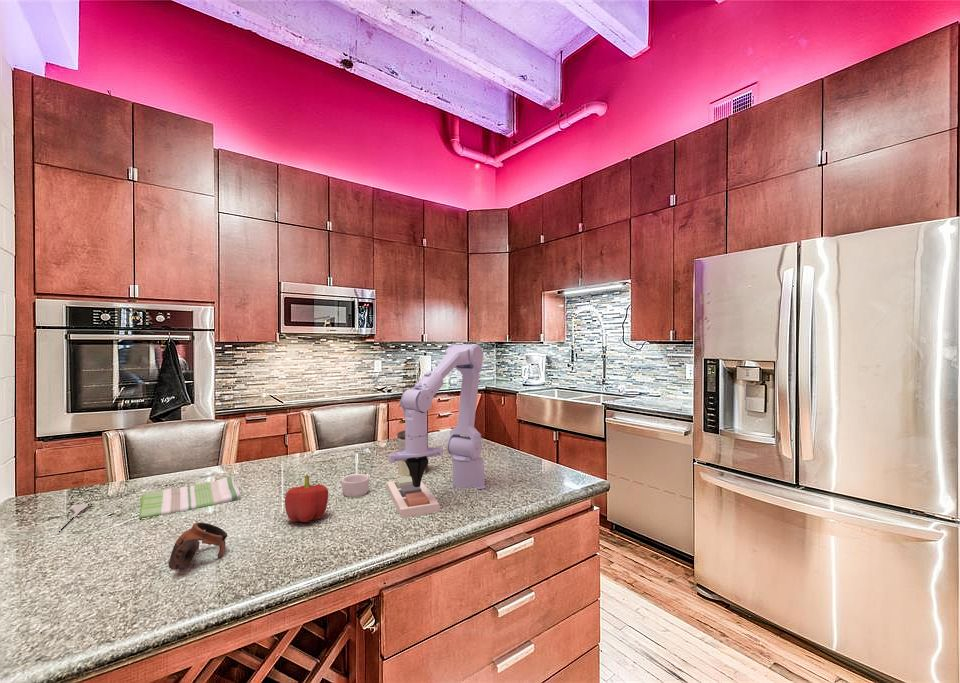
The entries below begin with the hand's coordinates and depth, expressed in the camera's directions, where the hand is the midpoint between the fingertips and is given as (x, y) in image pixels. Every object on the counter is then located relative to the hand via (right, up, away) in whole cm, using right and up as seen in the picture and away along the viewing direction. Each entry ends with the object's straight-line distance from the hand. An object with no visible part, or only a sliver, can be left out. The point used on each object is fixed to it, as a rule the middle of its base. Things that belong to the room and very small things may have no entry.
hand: (416, 485), depth 113 cm
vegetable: (-28, -8, -3) cm, 29 cm away
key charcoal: (-3, -6, +7) cm, 9 cm away
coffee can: (-6, -7, +31) cm, 32 cm away
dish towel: (-66, -8, +9) cm, 67 cm away
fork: (-89, -8, -3) cm, 89 cm away
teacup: (-20, -7, +13) cm, 25 cm away
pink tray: (-3, -7, +7) cm, 10 cm away
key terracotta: (0, -6, 0) cm, 6 cm away
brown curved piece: (-43, -8, -24) cm, 50 cm away
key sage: (-5, -6, +13) cm, 15 cm away
